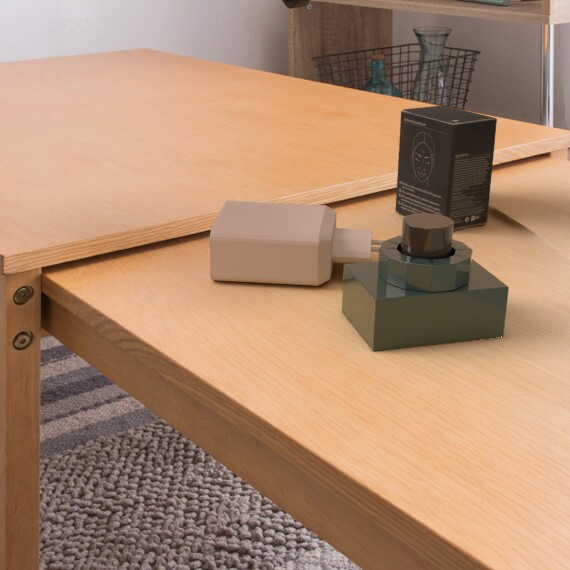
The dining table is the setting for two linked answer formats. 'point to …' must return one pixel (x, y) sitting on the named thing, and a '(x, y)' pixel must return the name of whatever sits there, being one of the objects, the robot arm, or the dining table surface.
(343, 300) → the base
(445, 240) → the brown push button
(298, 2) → the robot arm
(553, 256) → the dining table surface
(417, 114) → the box
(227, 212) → the charger
